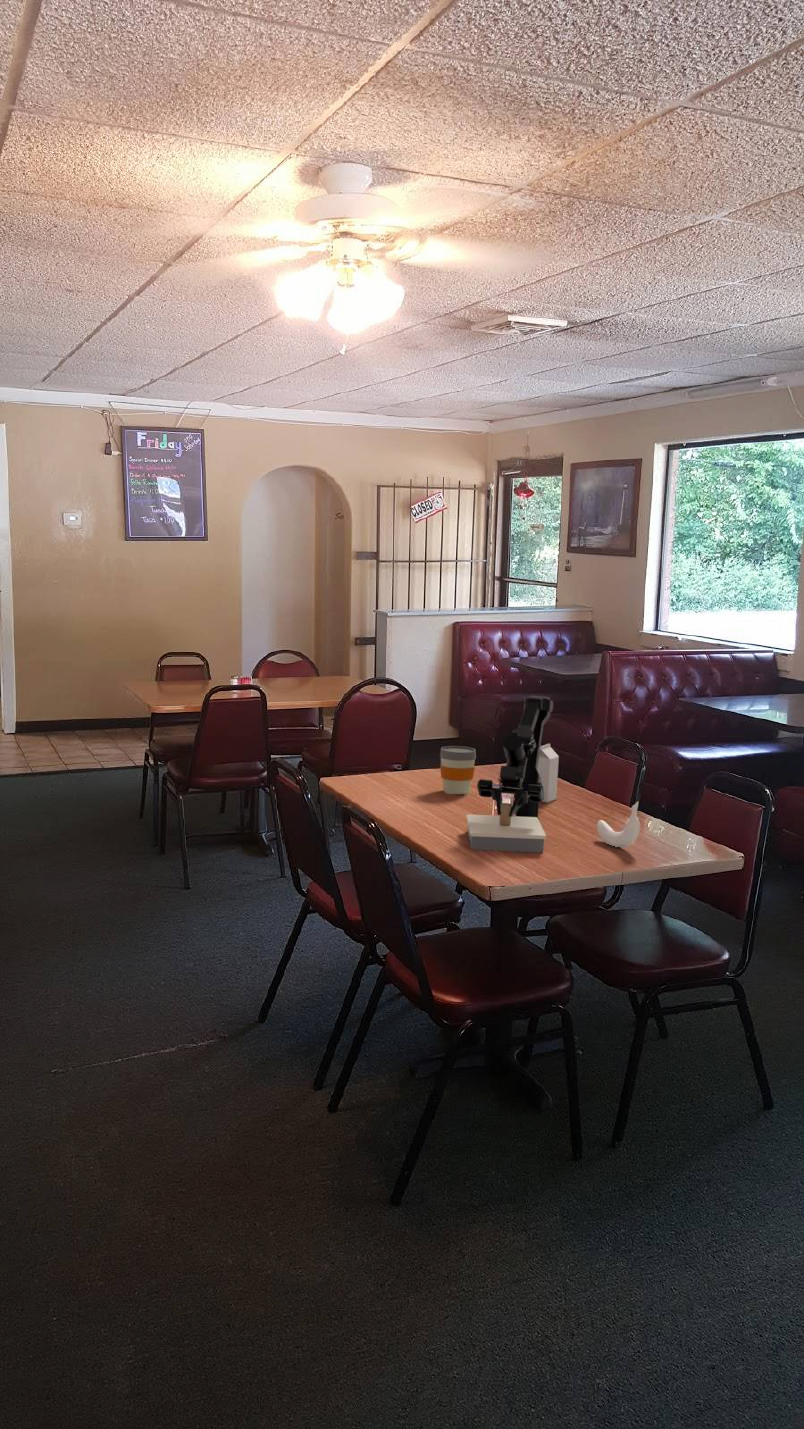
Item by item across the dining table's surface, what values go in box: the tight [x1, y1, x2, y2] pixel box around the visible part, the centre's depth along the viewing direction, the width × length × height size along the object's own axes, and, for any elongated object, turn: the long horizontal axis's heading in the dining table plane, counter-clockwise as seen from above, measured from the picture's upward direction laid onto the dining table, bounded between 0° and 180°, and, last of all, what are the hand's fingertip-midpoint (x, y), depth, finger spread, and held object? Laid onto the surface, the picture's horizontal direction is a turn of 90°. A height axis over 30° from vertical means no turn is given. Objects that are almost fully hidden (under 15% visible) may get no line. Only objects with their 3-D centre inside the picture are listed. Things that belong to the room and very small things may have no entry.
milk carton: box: [537, 743, 560, 804], centre depth 362 cm, size 7×7×19 cm
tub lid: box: [465, 802, 547, 840], centre depth 307 cm, size 21×21×8 cm
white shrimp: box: [596, 801, 641, 849], centre depth 307 cm, size 5×19×15 cm, turn 28°
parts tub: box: [467, 826, 545, 853], centre depth 308 cm, size 20×20×4 cm
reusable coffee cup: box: [439, 745, 477, 795], centre depth 369 cm, size 12×13×15 cm
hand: (504, 815), depth 306 cm, fingers closed on tub lid, 3 cm apart
